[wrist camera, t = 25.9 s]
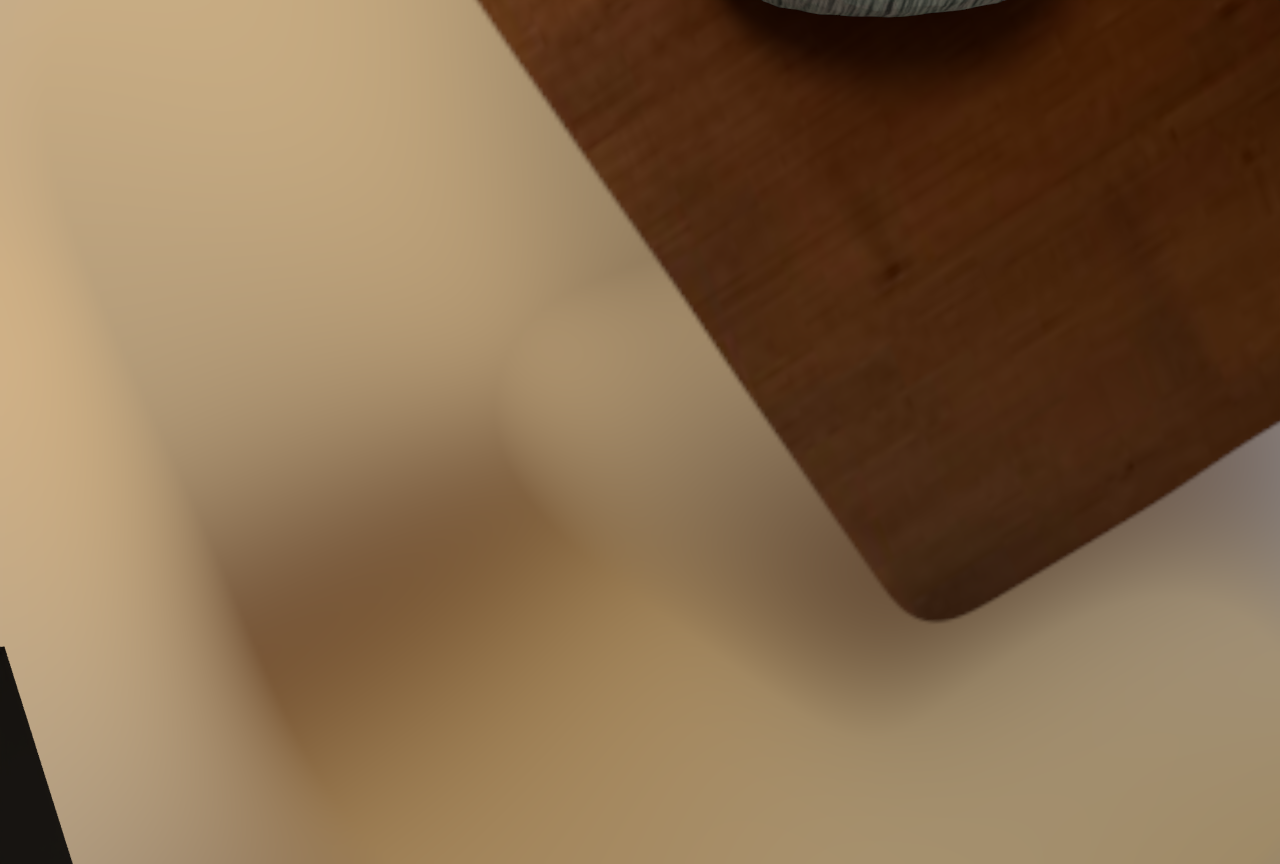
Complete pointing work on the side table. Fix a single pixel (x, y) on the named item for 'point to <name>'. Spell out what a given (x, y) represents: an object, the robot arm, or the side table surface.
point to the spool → (879, 6)
